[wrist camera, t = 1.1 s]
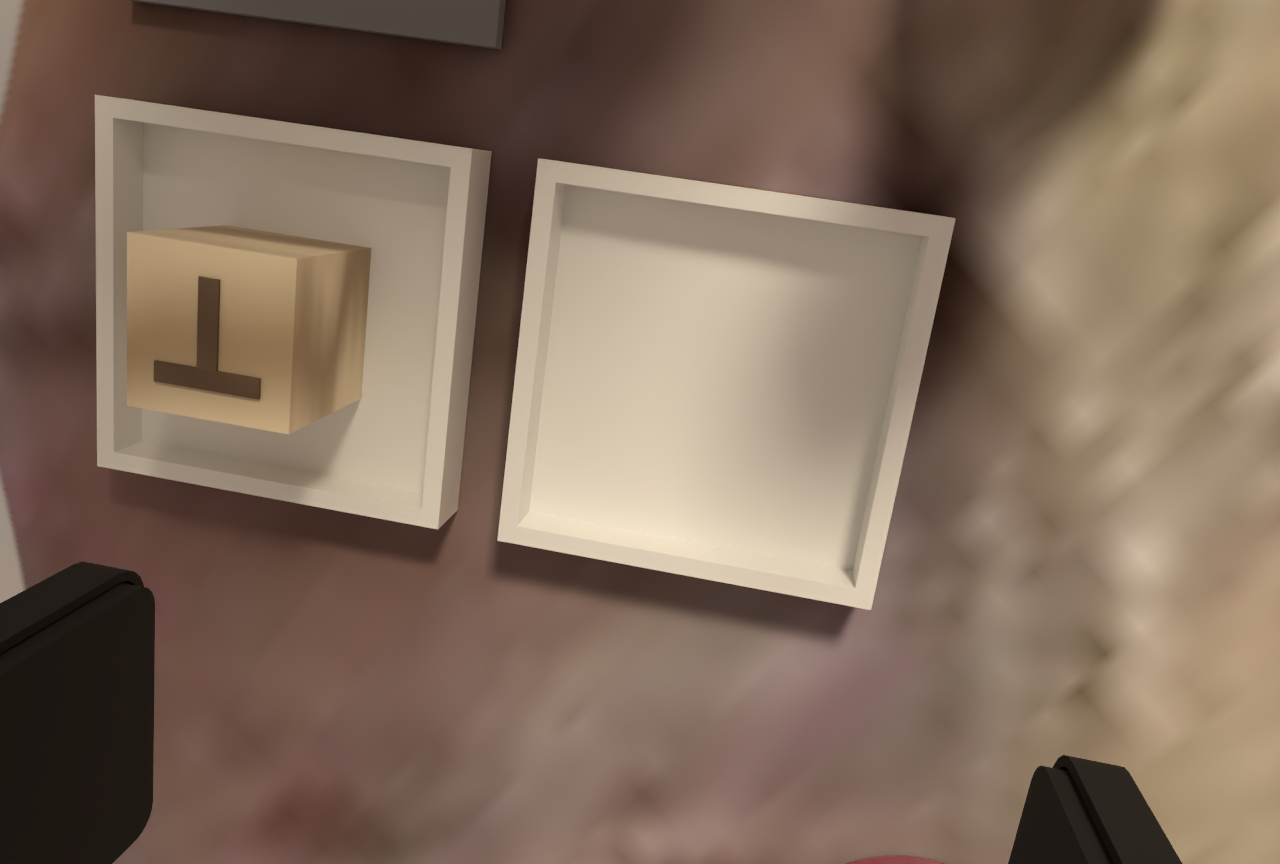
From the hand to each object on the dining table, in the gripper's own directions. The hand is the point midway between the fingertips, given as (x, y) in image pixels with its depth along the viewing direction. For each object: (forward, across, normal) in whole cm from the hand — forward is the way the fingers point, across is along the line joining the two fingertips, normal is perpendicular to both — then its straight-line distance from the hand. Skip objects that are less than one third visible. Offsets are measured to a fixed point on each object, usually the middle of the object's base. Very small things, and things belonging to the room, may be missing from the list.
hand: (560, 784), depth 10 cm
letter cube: (+22, +14, 0) cm, 26 cm away
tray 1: (+22, +14, 0) cm, 26 cm away
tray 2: (+22, 0, 0) cm, 22 cm away
